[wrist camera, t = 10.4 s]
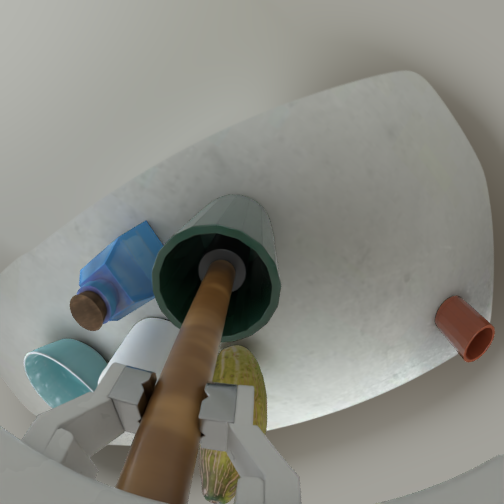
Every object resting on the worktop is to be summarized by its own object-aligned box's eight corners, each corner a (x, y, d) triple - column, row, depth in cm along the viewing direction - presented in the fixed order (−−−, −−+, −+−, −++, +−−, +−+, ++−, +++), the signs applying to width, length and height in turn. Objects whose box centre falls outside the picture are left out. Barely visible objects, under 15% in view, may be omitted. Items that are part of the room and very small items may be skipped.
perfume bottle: (146, 220, 28) (82, 260, 16) (179, 267, 29) (136, 330, 18) (109, 250, 29) (45, 296, 17) (140, 292, 30) (91, 355, 19)
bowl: (113, 408, 39) (97, 442, 31) (44, 355, 36) (20, 383, 28) (147, 369, 34) (127, 411, 27) (60, 301, 32) (27, 331, 24)
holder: (468, 295, 29) (500, 323, 22) (454, 328, 31) (482, 359, 24) (443, 294, 29) (476, 326, 22) (429, 329, 31) (457, 364, 24)
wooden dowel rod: (252, 225, 24) (212, 511, 3) (248, 260, 25) (214, 534, 4) (215, 222, 24) (64, 465, 3) (213, 256, 25) (107, 508, 4)
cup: (275, 197, 26) (288, 231, 14) (267, 269, 29) (271, 348, 17) (200, 191, 26) (150, 218, 14) (197, 262, 29) (156, 333, 17)
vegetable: (245, 323, 31) (231, 488, 12) (277, 356, 33) (286, 507, 14) (207, 347, 32) (170, 495, 14) (239, 376, 34) (226, 516, 15)
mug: (132, 372, 35) (106, 423, 25) (102, 327, 32) (64, 375, 23) (204, 360, 33) (187, 422, 23) (174, 308, 31) (143, 366, 21)
